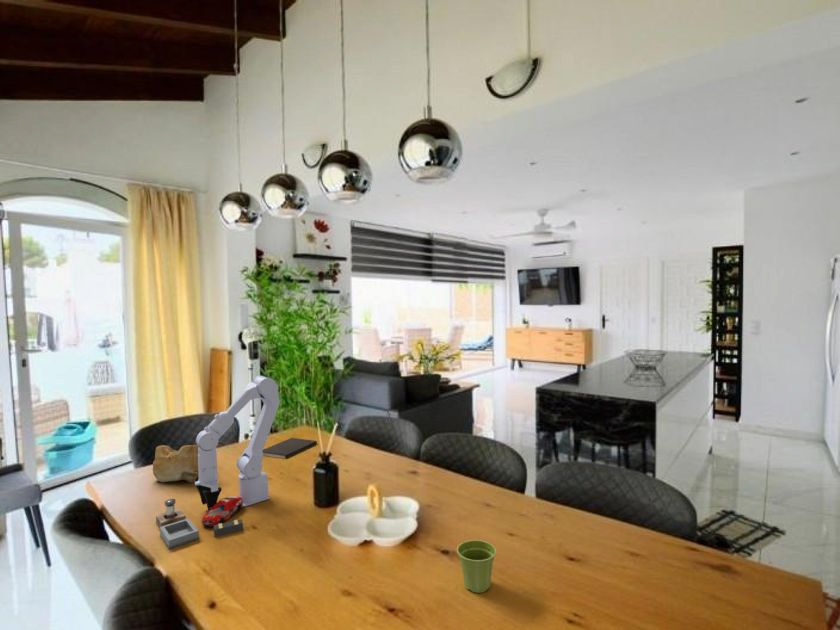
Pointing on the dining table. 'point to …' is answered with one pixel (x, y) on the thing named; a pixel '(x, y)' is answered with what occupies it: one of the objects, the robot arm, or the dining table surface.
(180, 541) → the tray
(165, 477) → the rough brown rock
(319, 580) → the dining table surface
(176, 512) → the pin holder
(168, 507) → the pin
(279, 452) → the hardcover book
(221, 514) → the race car
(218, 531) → the wheel stop
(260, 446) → the robot arm
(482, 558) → the plant pot
